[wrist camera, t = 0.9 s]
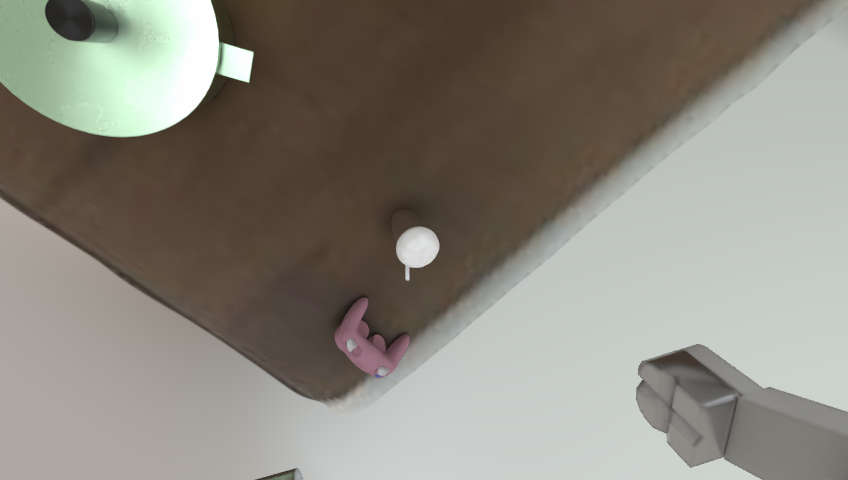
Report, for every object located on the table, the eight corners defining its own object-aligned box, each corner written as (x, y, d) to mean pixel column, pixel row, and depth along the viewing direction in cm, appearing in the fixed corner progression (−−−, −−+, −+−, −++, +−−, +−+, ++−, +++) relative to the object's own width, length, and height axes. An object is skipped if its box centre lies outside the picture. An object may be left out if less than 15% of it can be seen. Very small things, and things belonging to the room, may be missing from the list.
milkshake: (374, 235, 51) (387, 272, 42) (396, 197, 50) (414, 226, 41) (406, 250, 53) (425, 288, 44) (428, 213, 52) (452, 245, 43)
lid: (-42, -160, 25) (-113, -204, 21) (236, -54, 30) (224, -73, 26) (-30, 102, 30) (-86, 109, 26) (208, 156, 35) (194, 169, 31)
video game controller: (339, 304, 55) (323, 348, 50) (365, 291, 53) (350, 336, 48) (388, 346, 59) (378, 390, 54) (414, 336, 57) (405, 381, 52)
